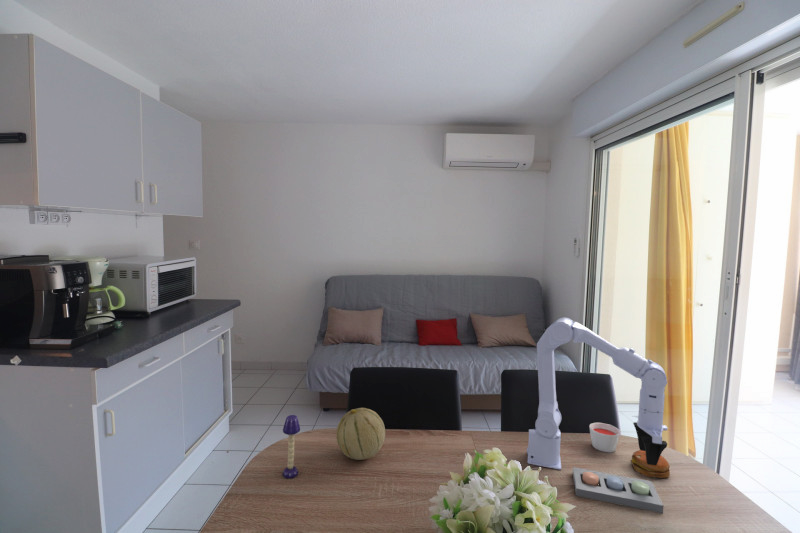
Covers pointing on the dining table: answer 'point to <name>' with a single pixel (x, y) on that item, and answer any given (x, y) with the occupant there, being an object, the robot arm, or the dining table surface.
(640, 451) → the burger
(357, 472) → the dining table surface
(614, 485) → the blue button
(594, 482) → the terracotta button
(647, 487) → the green button
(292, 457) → the toy lamp
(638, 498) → the button panel
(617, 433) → the candle
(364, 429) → the cantaloupe
